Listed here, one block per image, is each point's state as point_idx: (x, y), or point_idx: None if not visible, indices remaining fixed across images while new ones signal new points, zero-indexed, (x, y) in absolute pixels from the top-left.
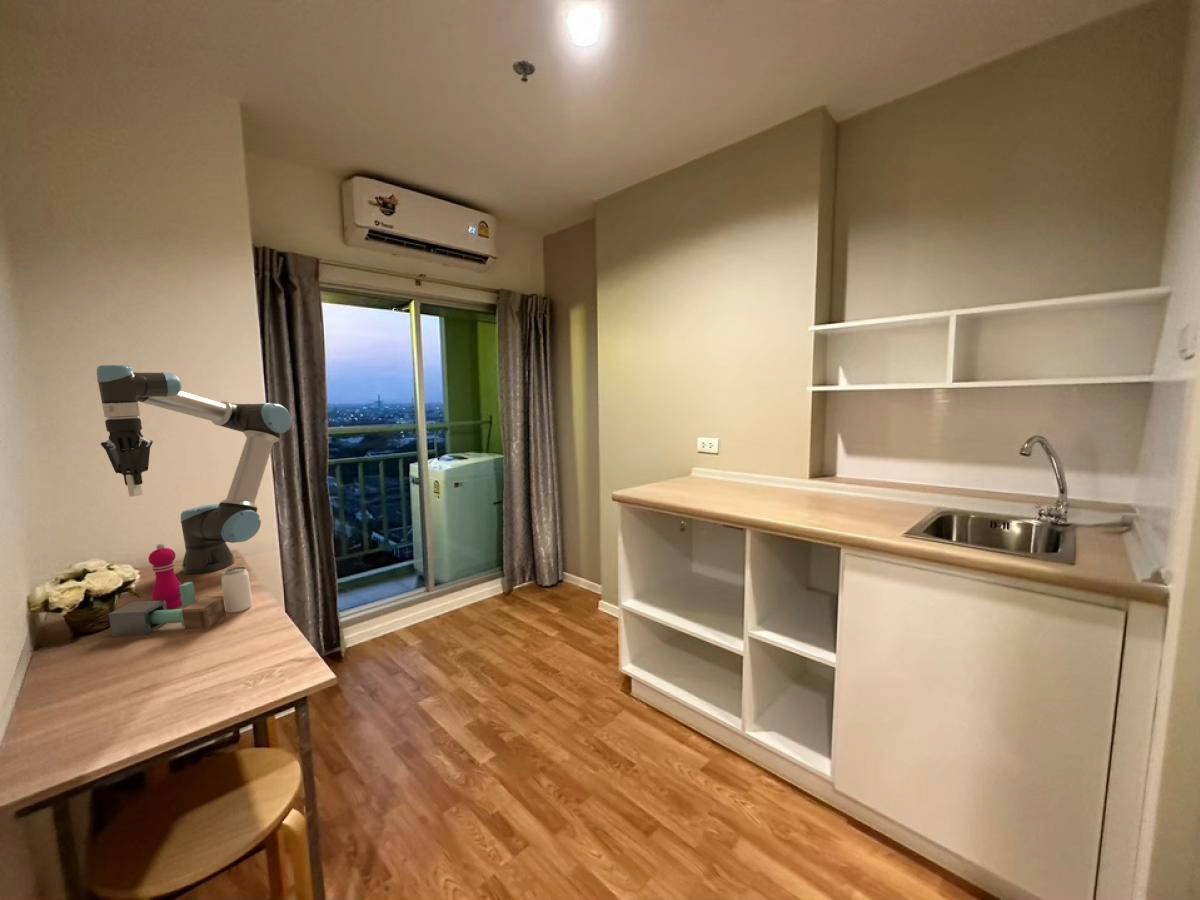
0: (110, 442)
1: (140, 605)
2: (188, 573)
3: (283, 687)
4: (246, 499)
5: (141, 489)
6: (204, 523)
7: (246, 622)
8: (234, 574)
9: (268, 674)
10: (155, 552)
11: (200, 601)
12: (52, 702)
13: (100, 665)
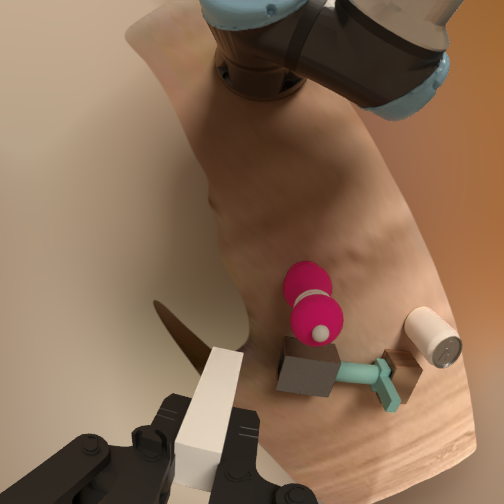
0: None
1: (309, 373)
2: (243, 97)
3: (455, 459)
4: (445, 24)
5: (239, 370)
6: (305, 59)
7: (433, 367)
8: (448, 364)
9: (449, 449)
10: (313, 343)
11: (397, 383)
12: (303, 466)
13: (308, 428)
